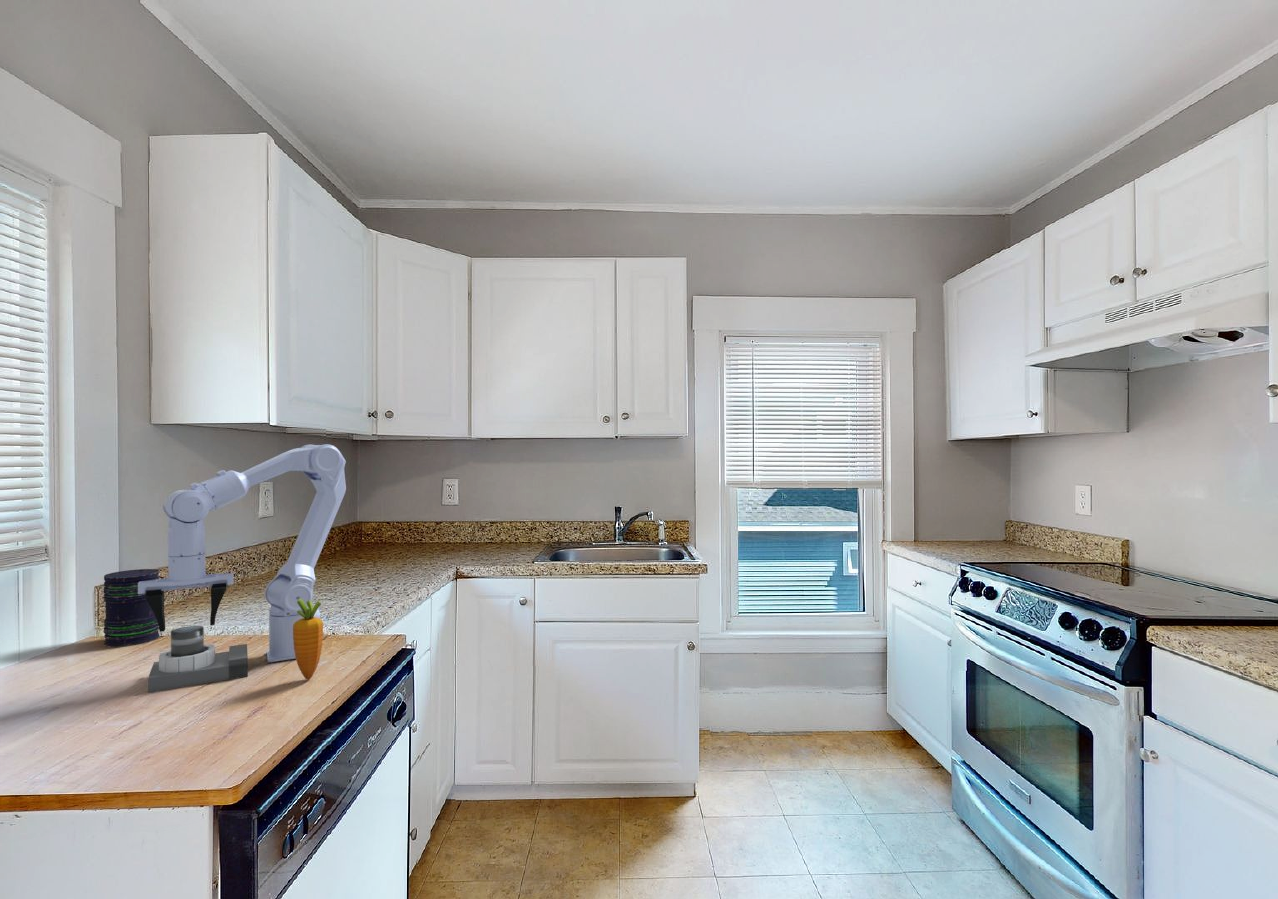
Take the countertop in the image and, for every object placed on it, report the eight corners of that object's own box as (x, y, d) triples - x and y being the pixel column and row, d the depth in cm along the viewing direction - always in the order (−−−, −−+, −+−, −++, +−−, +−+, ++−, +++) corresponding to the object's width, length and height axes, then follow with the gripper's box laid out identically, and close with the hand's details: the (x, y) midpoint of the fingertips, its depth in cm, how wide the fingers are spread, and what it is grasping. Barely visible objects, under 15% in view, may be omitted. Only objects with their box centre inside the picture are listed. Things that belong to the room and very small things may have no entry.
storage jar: (136, 647, 139) (136, 577, 139) (91, 647, 139) (90, 577, 139) (170, 633, 149) (170, 569, 149) (128, 633, 149) (127, 569, 149)
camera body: (247, 661, 130) (246, 636, 130) (247, 676, 122) (247, 649, 122) (154, 675, 122) (154, 648, 122) (147, 692, 114) (147, 664, 114)
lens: (209, 659, 123) (209, 625, 123) (194, 668, 118) (194, 632, 118) (181, 660, 123) (181, 626, 123) (164, 669, 118) (164, 633, 118)
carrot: (329, 676, 121) (329, 596, 121) (308, 686, 117) (307, 603, 117) (308, 673, 123) (308, 594, 123) (286, 682, 118) (286, 600, 118)
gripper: (233, 548, 128) (233, 616, 128) (140, 555, 120) (141, 628, 121) (232, 553, 122) (233, 625, 122) (135, 560, 114) (136, 637, 115)
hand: (187, 627), depth 121 cm, fingers open, 7 cm apart
